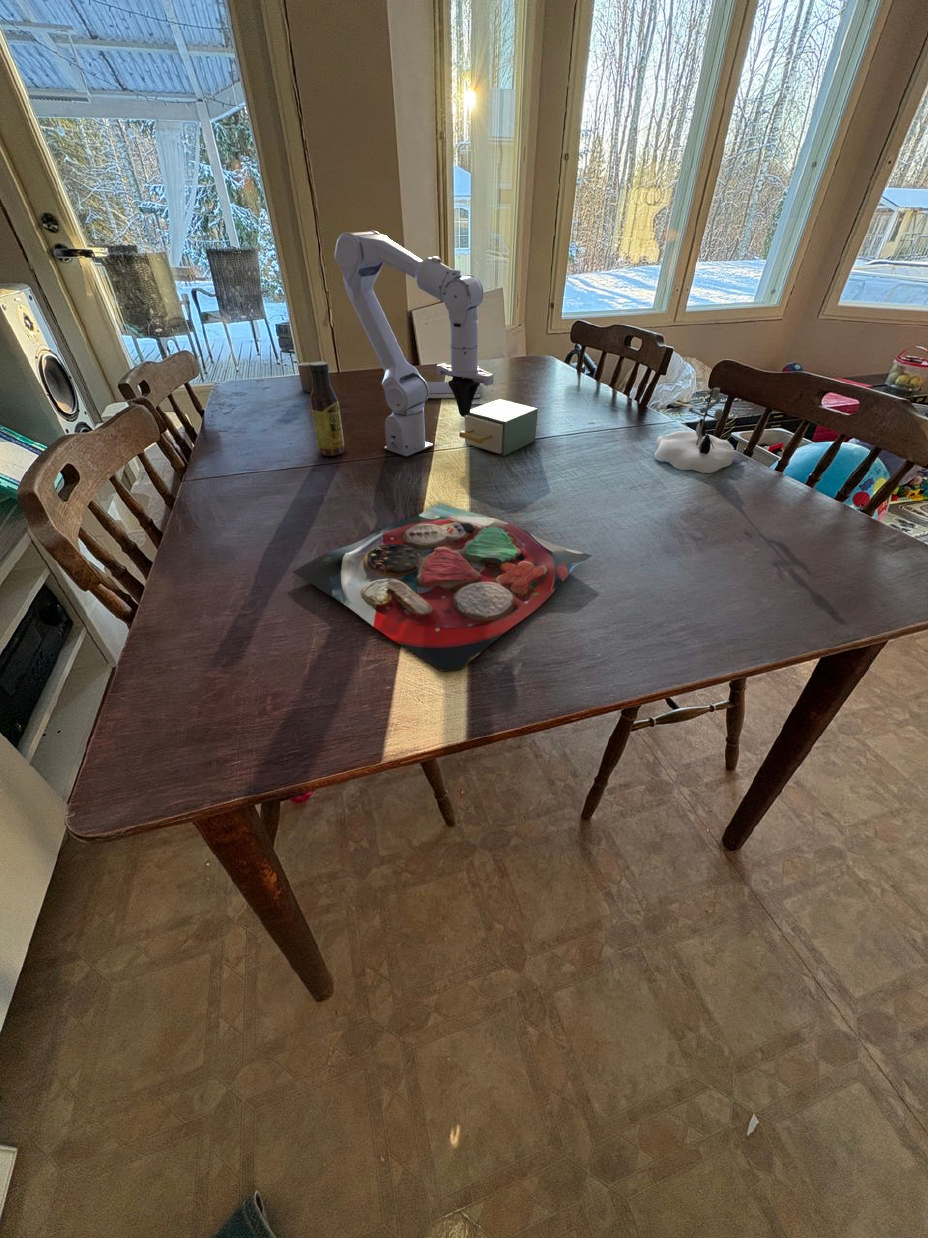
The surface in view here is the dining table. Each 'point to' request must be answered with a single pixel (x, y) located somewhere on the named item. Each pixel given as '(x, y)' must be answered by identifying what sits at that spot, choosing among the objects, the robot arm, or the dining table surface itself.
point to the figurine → (697, 444)
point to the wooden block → (305, 377)
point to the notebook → (444, 390)
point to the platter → (444, 581)
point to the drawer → (483, 433)
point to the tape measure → (473, 407)
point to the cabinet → (510, 422)
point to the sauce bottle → (325, 412)
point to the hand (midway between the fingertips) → (464, 413)
